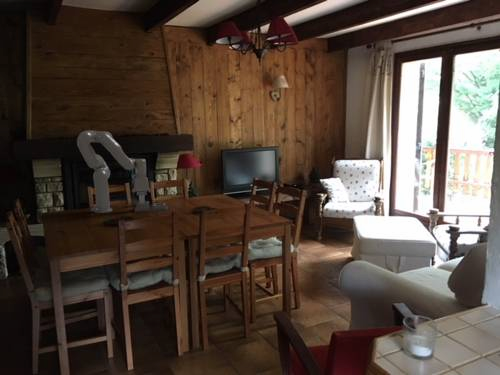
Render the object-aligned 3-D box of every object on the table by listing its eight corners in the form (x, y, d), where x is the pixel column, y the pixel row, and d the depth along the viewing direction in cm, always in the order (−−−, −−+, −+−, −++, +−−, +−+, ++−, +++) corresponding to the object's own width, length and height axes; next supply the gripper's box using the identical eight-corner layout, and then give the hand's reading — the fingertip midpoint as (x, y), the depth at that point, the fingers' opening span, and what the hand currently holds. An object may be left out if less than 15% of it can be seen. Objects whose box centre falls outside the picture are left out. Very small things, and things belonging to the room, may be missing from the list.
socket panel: (134, 212, 312) (134, 204, 311) (135, 209, 322) (134, 201, 321) (168, 210, 317) (167, 202, 316) (167, 207, 328) (167, 199, 327)
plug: (139, 204, 315) (138, 192, 314) (139, 203, 319) (138, 191, 318) (144, 204, 316) (144, 192, 315) (144, 203, 320) (144, 191, 319)
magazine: (156, 201, 340) (147, 185, 334) (142, 210, 334) (133, 194, 328) (154, 201, 343) (145, 185, 337) (140, 210, 337) (131, 194, 331)
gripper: (129, 176, 309) (130, 201, 312) (152, 176, 312) (153, 200, 315) (129, 175, 316) (130, 199, 319) (152, 174, 320) (153, 198, 323)
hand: (141, 200), depth 317 cm, fingers closed on plug, 4 cm apart
